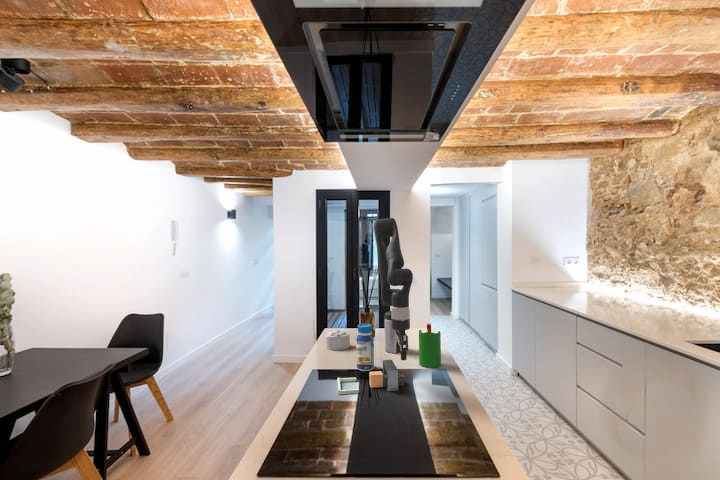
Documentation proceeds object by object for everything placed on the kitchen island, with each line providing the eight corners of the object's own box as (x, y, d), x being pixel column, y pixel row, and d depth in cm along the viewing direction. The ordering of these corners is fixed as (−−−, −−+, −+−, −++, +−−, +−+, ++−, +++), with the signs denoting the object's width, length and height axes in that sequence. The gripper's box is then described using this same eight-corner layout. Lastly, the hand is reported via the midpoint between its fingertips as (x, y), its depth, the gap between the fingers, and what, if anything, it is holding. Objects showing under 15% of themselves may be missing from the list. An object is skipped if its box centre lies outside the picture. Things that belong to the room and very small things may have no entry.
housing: (388, 391, 128) (387, 370, 128) (382, 378, 140) (382, 360, 140) (398, 390, 128) (397, 370, 129) (392, 378, 140) (391, 359, 140)
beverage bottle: (378, 368, 152) (377, 325, 152) (364, 373, 146) (363, 328, 147) (366, 363, 158) (366, 322, 158) (352, 367, 153) (352, 324, 153)
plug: (402, 382, 137) (402, 370, 137) (404, 385, 133) (404, 373, 133) (369, 383, 135) (369, 371, 135) (370, 387, 132) (370, 375, 132)
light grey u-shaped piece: (337, 381, 138) (337, 377, 138) (356, 380, 139) (356, 376, 139) (338, 394, 126) (338, 390, 126) (358, 393, 127) (358, 389, 127)
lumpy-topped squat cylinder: (327, 344, 190) (327, 329, 190) (349, 343, 190) (349, 328, 190) (326, 350, 179) (325, 334, 179) (349, 349, 180) (349, 333, 180)
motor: (439, 361, 159) (439, 320, 160) (442, 368, 150) (441, 325, 151) (418, 361, 160) (418, 320, 161) (420, 368, 151) (419, 324, 152)
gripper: (388, 313, 142) (388, 350, 142) (395, 321, 127) (396, 363, 128) (405, 312, 142) (405, 349, 142) (414, 320, 128) (414, 362, 128)
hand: (401, 356), depth 135 cm, fingers open, 8 cm apart
